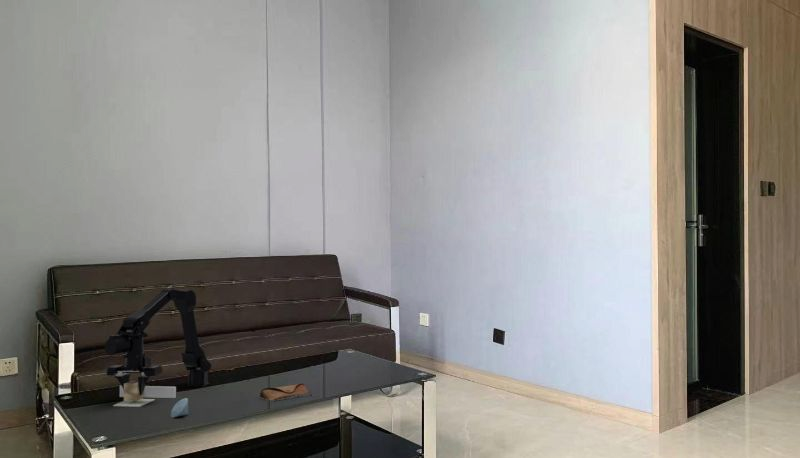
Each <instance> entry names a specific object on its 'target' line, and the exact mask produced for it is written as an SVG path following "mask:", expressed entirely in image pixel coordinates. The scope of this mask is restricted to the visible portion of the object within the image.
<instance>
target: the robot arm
mask: <svg viewBox="0 0 800 458" xmlns="http://www.w3.org/2000/svg"><path fill="white" fill-rule="evenodd" d="M171 301H172V302H173V304H174V306H175V308H176V309H177V310H178V312H179V313H180V319H181V323H182V330H183V331H182V332H183V337H184V342H185V349H184V351H183V352H181V358H182V363H183V365H184V366H185V370H186V371H189V374H188V375H187V376H188V379H187V380H188V382H187V383H188V385H187V387H189V388H204V387H205V386H208V385H210V382H208V372H209V371H210V370H211V368H212V364H211V363H210V361H209V360H208V359H207V357H206V354H205V353H206V352H205V351H204V350H203V348H202V347H201V346H200V343H199V342H200V341H199V337H198V332H197V331H198V330H197V326H196V319H195V312H194V310H195V307H196V305H197V294H196V293H195V291H193V290H192V289H174V288H163V289H161V290H160V292H159V293H158V294H156V296H155V297H154V298H152V299H151V300H150V301H149V302H148V303H147V304H146V305H145V306H143V308H141V309H140V310H137V311H135V312H132V313H131V314H129V315H127V316H125V318H124V319H123V321H122V324H121V326H120V328H119V330H118V331H117V333H116V334H114V335H113V334H112V335H109V336H108V339H107V340H106V342H105V344H104V350H105V353H106V355H108V356H116V355H120V354H121V355H122V354H124V355H123V359H125V364H124V365H123V364H119V365H118V364H114V365H111V366H109V367H107V368H106V370H105V374H106V376H111V377H112V376H114V378H115V379H116V380H117V381H118V383H119V384H120V386H122V387H123V389H124V383H126V382H129V381H130V378H131V375H132V374H141V375H140V376H138V377H137V381H138V383H139V393H140V395H142V394H143V391H144V388H145V386H147V383H148V381H149V379H150V378H151V377H156V376H158V375H162V374H163V367H162V366H161V365H152V363H153V359H152V358H150V357H147V356H146V353H145V352H144V338H148V337H149V335H148V334H147V333H146V332H145V330H146V328H148V326H149V325H150V324H151V320H152V318H153V317H154V316H155V315H157V313H158V312H160V311H161V310H162V309H163V308H164V307H165V306H166V305H168V303H170V302H171Z"/></svg>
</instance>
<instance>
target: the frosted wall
mask: <svg viewBox="0 0 800 458" xmlns="http://www.w3.org/2000/svg"><path fill="white" fill-rule="evenodd" d="M119 398H124V389H123V387H122V386H121V385H119ZM144 398H148V399H153V398H155V399H156V398H158V399H160V398H161V399H176V398H177V386H160V385H157V386H155V385H152V386H150V385H146V386H145V396H144Z"/></svg>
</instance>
